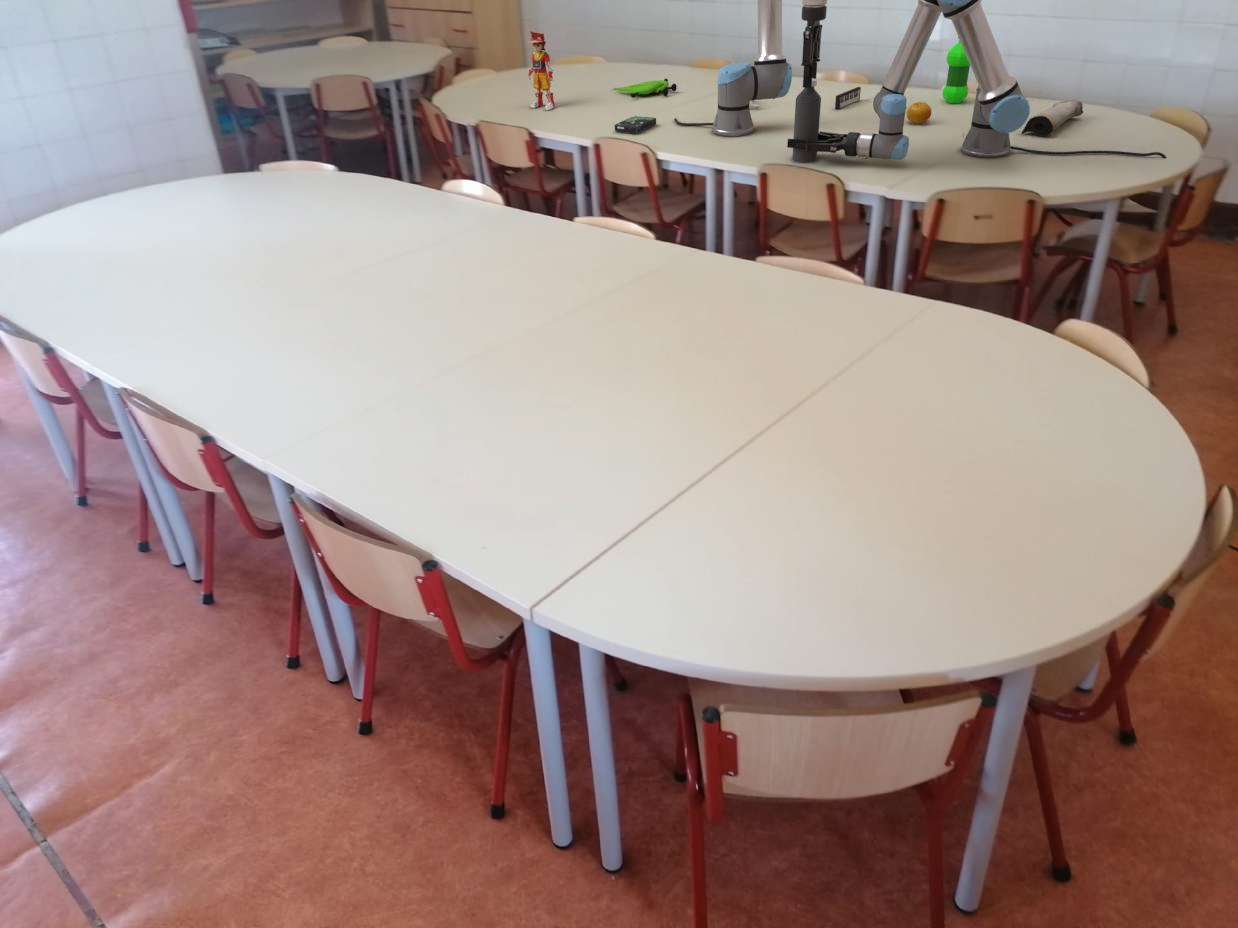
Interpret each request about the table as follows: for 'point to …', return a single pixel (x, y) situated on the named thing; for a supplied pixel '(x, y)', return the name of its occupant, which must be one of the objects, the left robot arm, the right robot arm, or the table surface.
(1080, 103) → the rolled mat
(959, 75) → the plastic bottle
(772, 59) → the left robot arm
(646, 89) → the toy
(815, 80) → the cap
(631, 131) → the disk drive
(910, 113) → the fruit
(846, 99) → the midi keyboard
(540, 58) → the toy
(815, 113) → the bottle
